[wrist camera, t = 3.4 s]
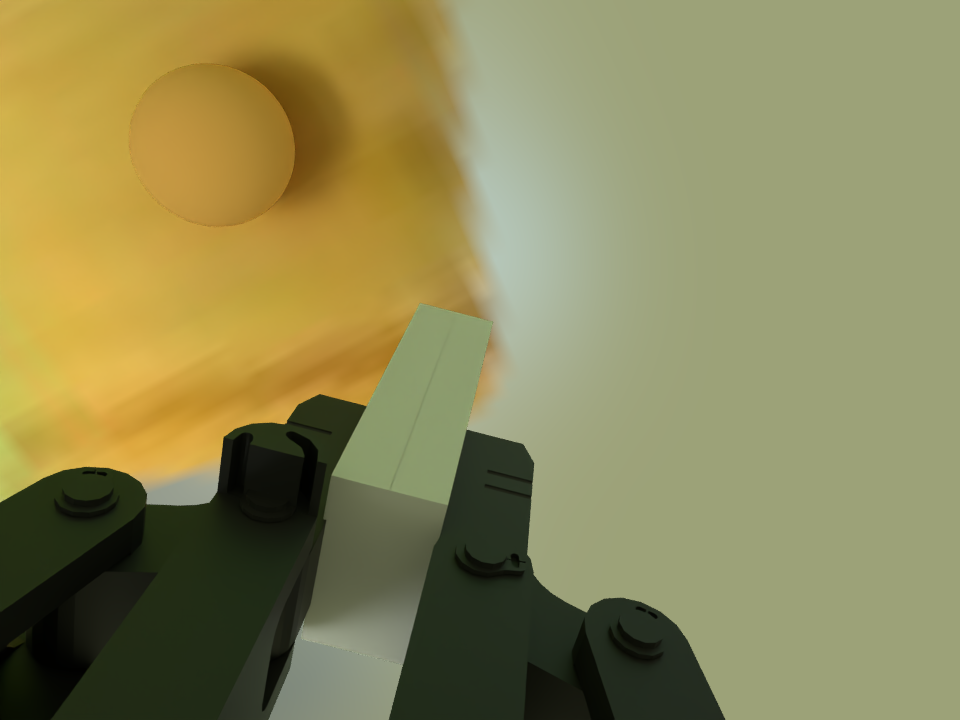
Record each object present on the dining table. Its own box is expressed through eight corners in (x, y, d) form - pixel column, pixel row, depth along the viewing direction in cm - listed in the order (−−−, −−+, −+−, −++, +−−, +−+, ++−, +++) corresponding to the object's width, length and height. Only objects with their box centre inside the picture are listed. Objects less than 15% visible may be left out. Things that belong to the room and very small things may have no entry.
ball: (178, 42, 30) (99, 49, 25) (323, 79, 30) (274, 93, 25) (167, 188, 32) (93, 221, 27) (303, 222, 32) (254, 262, 27)
